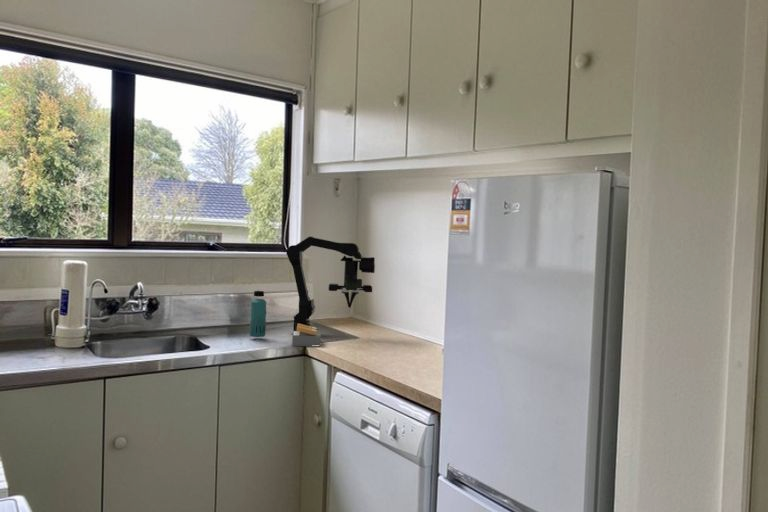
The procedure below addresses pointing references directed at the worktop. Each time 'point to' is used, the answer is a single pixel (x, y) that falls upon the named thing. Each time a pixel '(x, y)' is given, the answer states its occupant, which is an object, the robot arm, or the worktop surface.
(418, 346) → the worktop surface
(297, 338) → the grey square bin
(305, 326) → the rocker far
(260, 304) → the beverage bottle
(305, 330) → the rocker near
